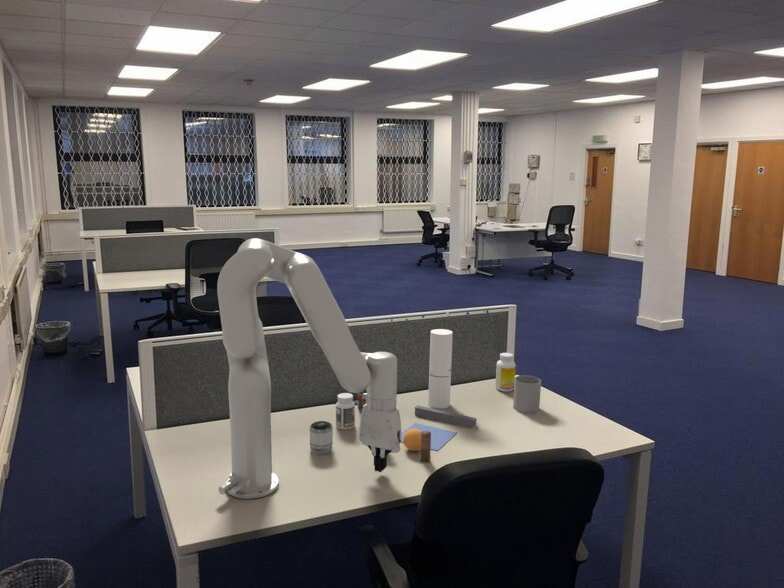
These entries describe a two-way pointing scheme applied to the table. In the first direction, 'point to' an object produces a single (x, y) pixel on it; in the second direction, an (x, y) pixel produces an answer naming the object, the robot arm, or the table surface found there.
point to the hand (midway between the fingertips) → (380, 469)
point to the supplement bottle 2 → (505, 373)
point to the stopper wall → (446, 416)
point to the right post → (425, 446)
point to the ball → (412, 439)
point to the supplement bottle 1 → (361, 399)
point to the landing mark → (433, 435)
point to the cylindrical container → (440, 368)
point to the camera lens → (321, 437)
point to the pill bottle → (345, 411)
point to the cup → (527, 394)
